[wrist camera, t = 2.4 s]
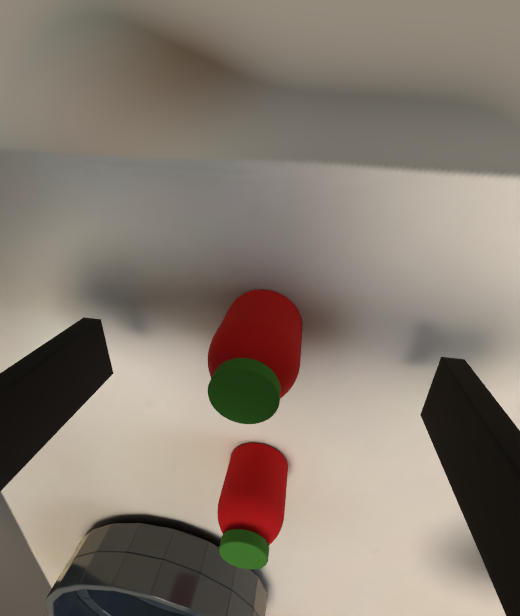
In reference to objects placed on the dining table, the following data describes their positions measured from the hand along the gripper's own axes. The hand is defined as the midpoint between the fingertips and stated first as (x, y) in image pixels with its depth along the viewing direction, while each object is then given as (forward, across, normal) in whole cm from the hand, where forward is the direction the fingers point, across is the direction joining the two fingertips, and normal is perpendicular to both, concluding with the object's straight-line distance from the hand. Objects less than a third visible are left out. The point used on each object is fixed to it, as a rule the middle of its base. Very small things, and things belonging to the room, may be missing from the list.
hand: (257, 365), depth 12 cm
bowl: (+3, -8, -26) cm, 28 cm away
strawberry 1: (+3, 0, 0) cm, 3 cm away
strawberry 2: (+3, 0, -10) cm, 10 cm away
